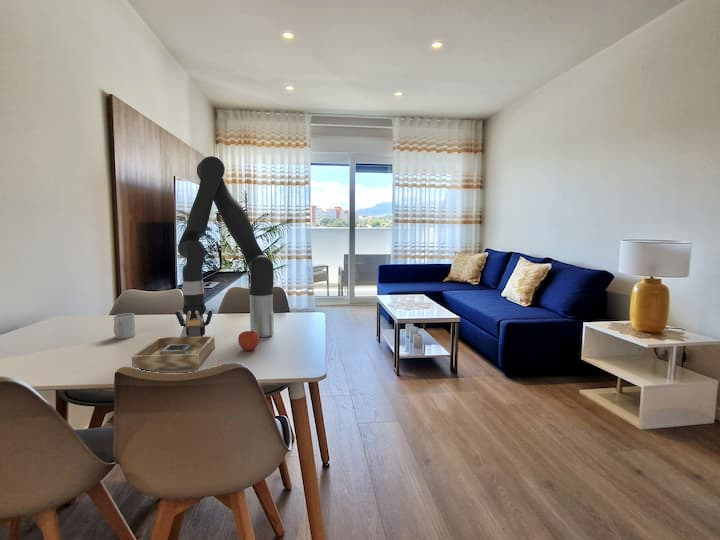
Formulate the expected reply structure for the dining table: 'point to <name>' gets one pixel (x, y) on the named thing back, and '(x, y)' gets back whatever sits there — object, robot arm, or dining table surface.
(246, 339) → the apple
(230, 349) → the dining table surface
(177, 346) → the frame
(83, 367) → the dining table surface
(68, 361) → the dining table surface
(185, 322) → the flask
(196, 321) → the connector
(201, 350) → the walled box
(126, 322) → the cup
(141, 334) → the dining table surface
